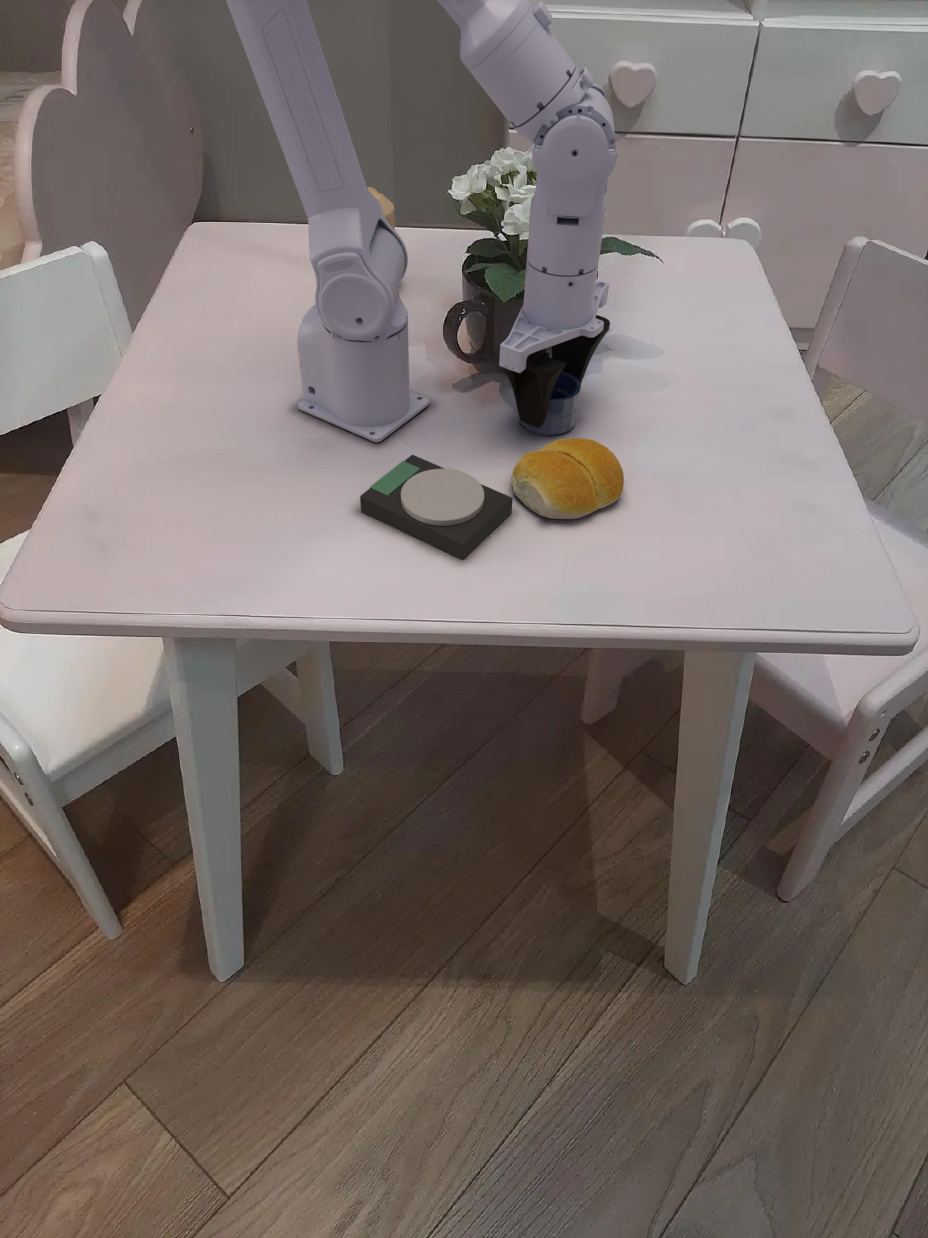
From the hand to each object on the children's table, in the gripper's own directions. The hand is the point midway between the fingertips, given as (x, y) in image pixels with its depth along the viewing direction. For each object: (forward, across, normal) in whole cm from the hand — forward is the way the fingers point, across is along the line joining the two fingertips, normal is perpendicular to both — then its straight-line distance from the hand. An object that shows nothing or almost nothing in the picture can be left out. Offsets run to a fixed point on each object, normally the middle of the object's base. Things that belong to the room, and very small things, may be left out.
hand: (548, 408), depth 84 cm
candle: (+1, +11, +29) cm, 31 cm away
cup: (+1, 0, 0) cm, 1 cm away
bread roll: (+2, -8, -7) cm, 10 cm away
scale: (+1, -16, 0) cm, 17 cm away
